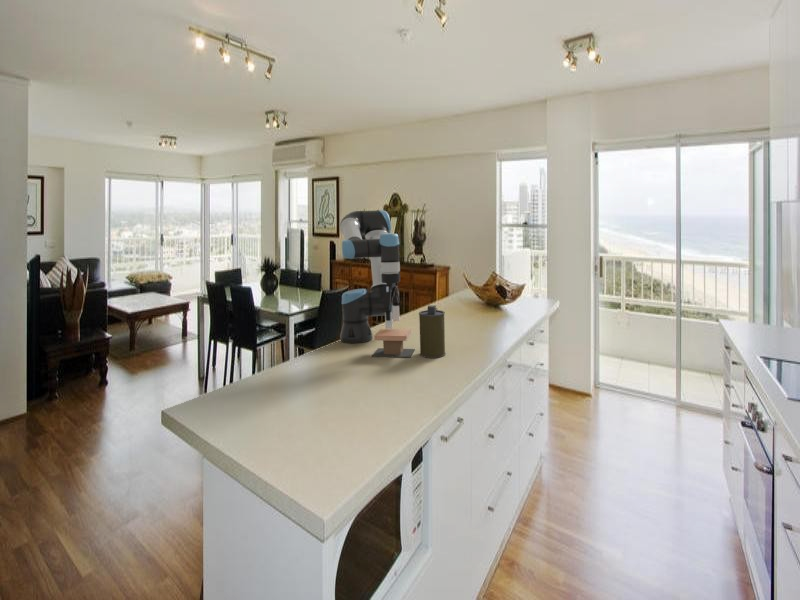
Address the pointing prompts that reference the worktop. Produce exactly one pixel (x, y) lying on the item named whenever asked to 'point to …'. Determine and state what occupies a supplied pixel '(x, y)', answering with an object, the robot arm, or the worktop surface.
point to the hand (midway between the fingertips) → (392, 324)
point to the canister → (432, 333)
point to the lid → (392, 334)
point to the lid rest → (393, 350)
